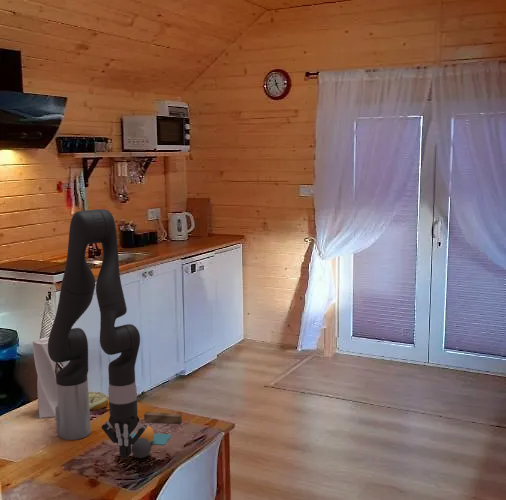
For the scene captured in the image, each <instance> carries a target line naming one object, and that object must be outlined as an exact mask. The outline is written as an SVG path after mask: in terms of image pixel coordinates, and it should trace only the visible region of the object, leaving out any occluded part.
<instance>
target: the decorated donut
mask: <svg viewBox="0 0 506 500" xmlns="http://www.w3.org/2000/svg"><path fill="white" fill-rule="evenodd" d="M88 395H89V411H97V410H100V409H104V408H105V407H106V406H107V404H108V402H109V397H108V396H107V395H106V394H105V393H103V392H97V391H88Z"/></svg>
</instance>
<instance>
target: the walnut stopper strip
mask: <svg viewBox="0 0 506 500" xmlns="http://www.w3.org/2000/svg"><path fill="white" fill-rule="evenodd" d="M143 416H144V417H143V418H144V422H145V423H157V424H158V423H159V424H170V425H171V424H172V425H174V424H175V425H181V424H182V422H183V419H182V417H183V415H182V413H172V412H171V413H168V412H152V411H151V412H150V411H145V413H144V414H143Z"/></svg>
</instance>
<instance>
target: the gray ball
mask: <svg viewBox="0 0 506 500" xmlns="http://www.w3.org/2000/svg"><path fill="white" fill-rule="evenodd" d="M151 450H152V444H150V442H149V441H148V440H147V439H145V438H138V440H137V441H136V442H135V443H134V444H133V445H131V454H133V455H134V457H136V458H138V459H143V458H144V459H145V457H147V456H149V454H150V453H151Z"/></svg>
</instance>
